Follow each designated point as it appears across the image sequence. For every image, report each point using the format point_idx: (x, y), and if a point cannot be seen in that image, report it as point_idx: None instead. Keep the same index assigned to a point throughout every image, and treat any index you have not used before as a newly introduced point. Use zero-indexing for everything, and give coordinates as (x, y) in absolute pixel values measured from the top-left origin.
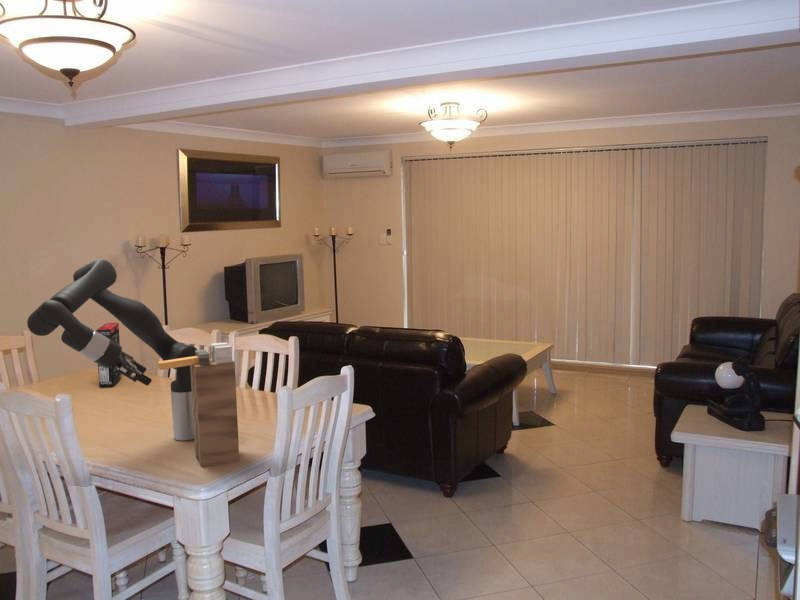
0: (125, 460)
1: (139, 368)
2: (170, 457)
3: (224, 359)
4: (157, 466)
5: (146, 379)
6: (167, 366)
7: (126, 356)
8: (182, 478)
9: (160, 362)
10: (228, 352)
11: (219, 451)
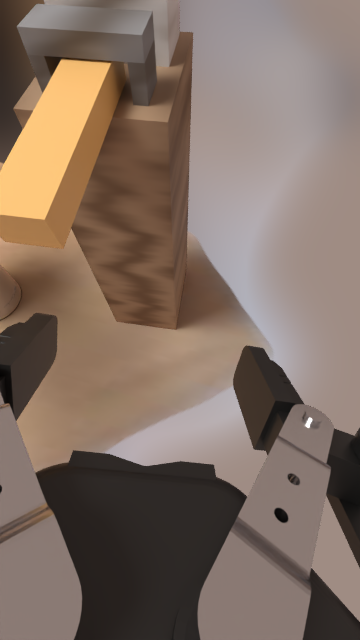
0: (27, 449)
1: (37, 360)
2: (84, 360)
3: (174, 29)
4: (116, 397)
5: (288, 382)
6: (72, 202)
7: (72, 573)
8: (212, 375)
9: (20, 206)
10: None
11: (181, 286)
